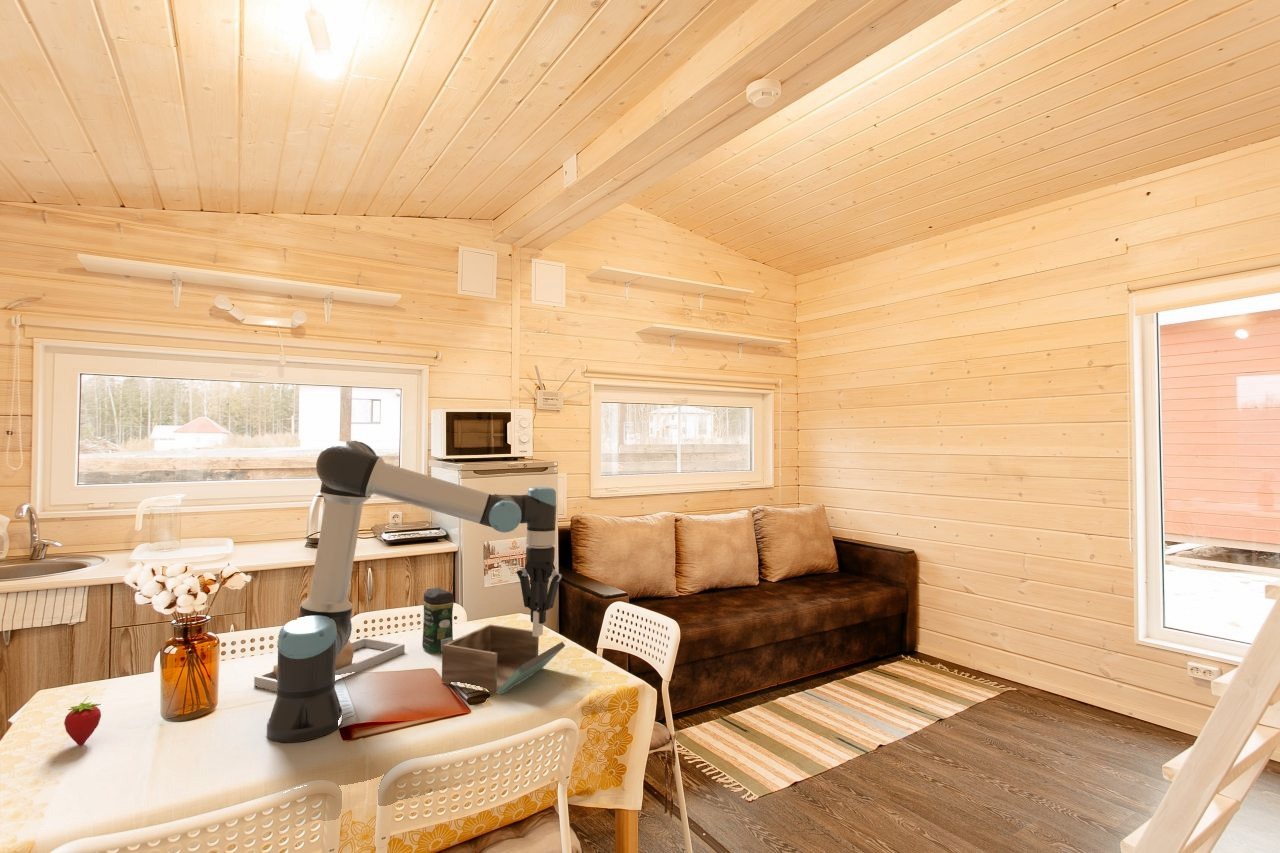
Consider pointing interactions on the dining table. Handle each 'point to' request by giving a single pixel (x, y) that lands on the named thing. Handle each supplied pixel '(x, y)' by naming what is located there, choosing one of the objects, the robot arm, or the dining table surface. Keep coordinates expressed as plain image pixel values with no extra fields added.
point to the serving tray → (391, 651)
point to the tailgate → (531, 667)
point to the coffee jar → (437, 619)
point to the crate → (487, 656)
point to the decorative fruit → (82, 721)
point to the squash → (337, 658)
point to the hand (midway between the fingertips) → (537, 635)
